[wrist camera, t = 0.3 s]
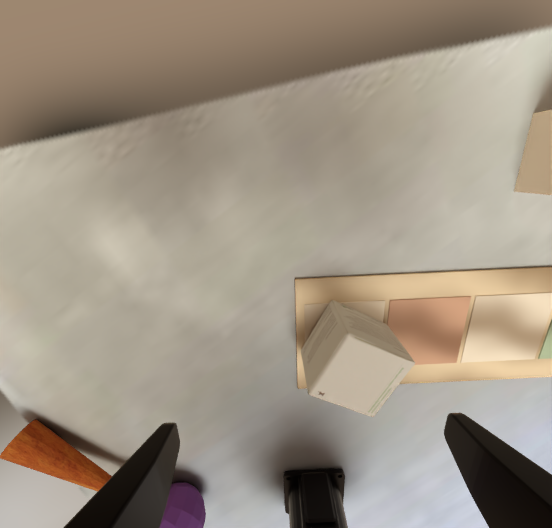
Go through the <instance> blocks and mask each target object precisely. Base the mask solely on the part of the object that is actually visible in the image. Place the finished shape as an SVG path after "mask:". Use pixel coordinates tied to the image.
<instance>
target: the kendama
mask: <svg viewBox="0 0 552 528" xmlns="http://www.w3.org/2000/svg"><path fill="white" fill-rule="evenodd" d="M0 458H1V459H4V460H7V461H10V462H13V463H16V464H19V465H22V466H25V467H27V468H31V469H33V470H37V471H40V472H42V473H46V474H48V475H51V476H54V477H57V478H60V479H63V480H66V481H69V482H72V483H75V484H78V485H80V486H83V487H86V488H89V489H92V490H95V491H99V490H100V489H101V488H102V487H103V486H104V485H105V484H106V482H107V481H108V480H109V479H110V478H111V477H112V476H111V475H109V474H108V473H107V472H105V471H104V470H103V469H101V468H100V467H99V466H98V465H96V464H95V463H94V462H92V461H91V460H90V459H88V458H87V457H86V456H84V455H83V454H82V453H80V452H79V451H78V450H76V449H75V448H74V447H72V446H71V445H70V444H68V443H67V442H66V441H64V440H63V439H62V438H60V437H59V436H58V435H56V434H55V433H54V432H52V431H51V430H50V429H48V428H47V427H46V426H44V425H43V424H42V423H41V422H39V421H38V420H37V419H35V420H33V421H32V422H31V423H29V424H28V425H27V426H26V427H25V428H24V429H23V430H22V431H21V432H20V433H19V434H18V435H17V436H16V437H15V438H14V439H13V440H12V441H11V442H10V443H9V445H8V446H7V447H6V448H5V449H4V451H3V452H2V453H1V455H0ZM205 515H206V513H205V506H204V501H203V498H202V496H201V494H200V493H199V491H198V490H197V488H196V487H194V486H192V485H191V484H189V483H174V484H171V488H170V492H169V496H168V501H167V505H166V508H165V511H164V515H163V518H162V521H161V524H160V527H159V528H203V526H204V522H205Z"/></svg>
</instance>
